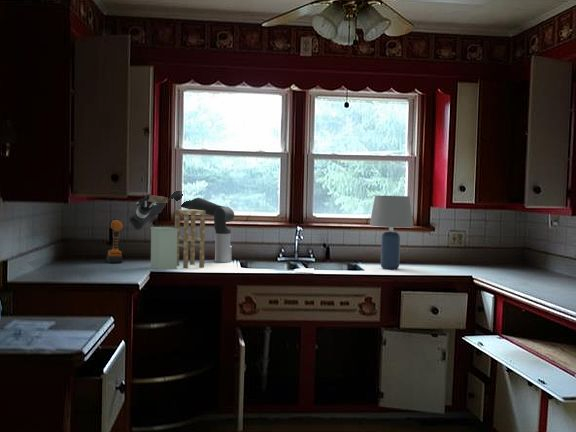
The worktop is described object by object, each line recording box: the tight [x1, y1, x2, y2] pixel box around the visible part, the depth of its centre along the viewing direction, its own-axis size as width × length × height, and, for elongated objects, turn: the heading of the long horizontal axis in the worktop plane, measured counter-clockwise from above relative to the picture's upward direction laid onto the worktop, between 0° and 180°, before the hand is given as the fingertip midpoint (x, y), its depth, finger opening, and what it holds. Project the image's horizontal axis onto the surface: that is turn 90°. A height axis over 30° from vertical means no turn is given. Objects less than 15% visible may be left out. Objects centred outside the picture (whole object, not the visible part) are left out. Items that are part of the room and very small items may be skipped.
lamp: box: [369, 195, 414, 271], centre depth 341 cm, size 25×25×43 cm
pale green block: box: [150, 226, 178, 270], centre depth 321 cm, size 11×15×22 cm
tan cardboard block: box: [145, 194, 169, 204], centre depth 332 cm, size 4×28×4 cm, turn 32°
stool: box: [174, 208, 206, 269], centre depth 329 cm, size 12×16×32 cm
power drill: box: [106, 218, 123, 264], centre depth 342 cm, size 22×7×25 cm, turn 25°
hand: (152, 196), depth 338 cm, fingers closed on tan cardboard block, 3 cm apart
